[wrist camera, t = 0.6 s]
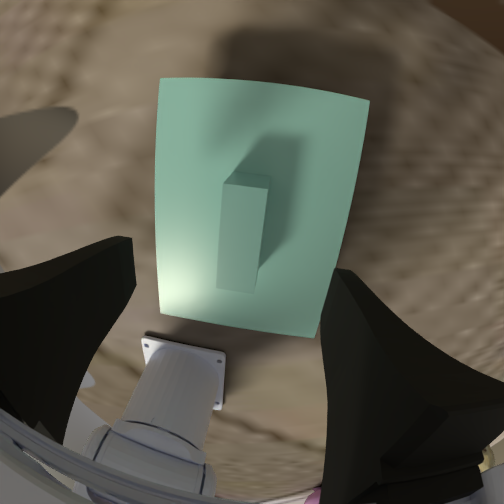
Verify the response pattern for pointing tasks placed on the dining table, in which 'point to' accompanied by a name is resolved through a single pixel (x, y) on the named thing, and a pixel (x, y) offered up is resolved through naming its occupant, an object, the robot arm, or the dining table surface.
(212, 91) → the lid
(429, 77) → the dining table surface
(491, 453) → the chocolate bunny
